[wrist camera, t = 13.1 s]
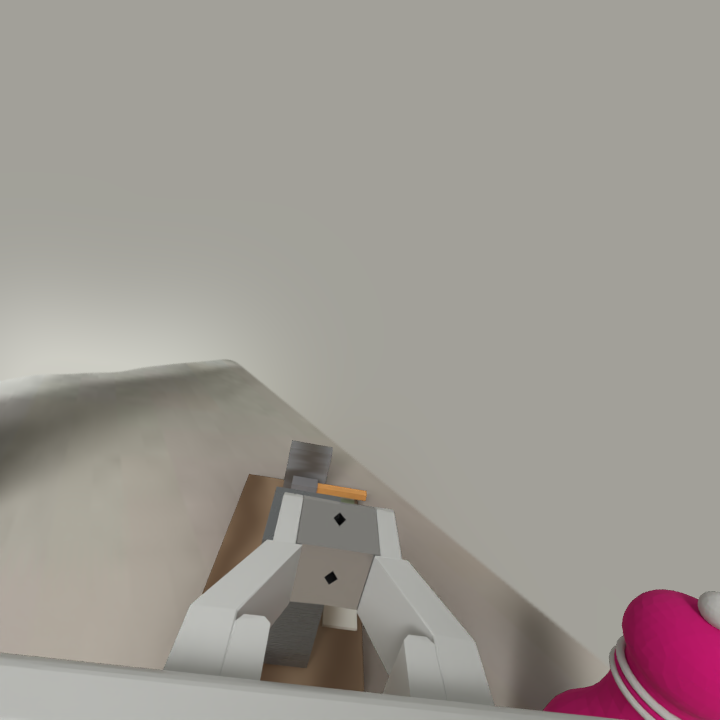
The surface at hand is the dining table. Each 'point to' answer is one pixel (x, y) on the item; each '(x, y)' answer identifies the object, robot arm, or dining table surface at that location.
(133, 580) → the dining table surface
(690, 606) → the pepper mill
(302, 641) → the brushed steel block
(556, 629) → the dining table surface
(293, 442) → the gauge bench
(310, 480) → the wood and grey stick
